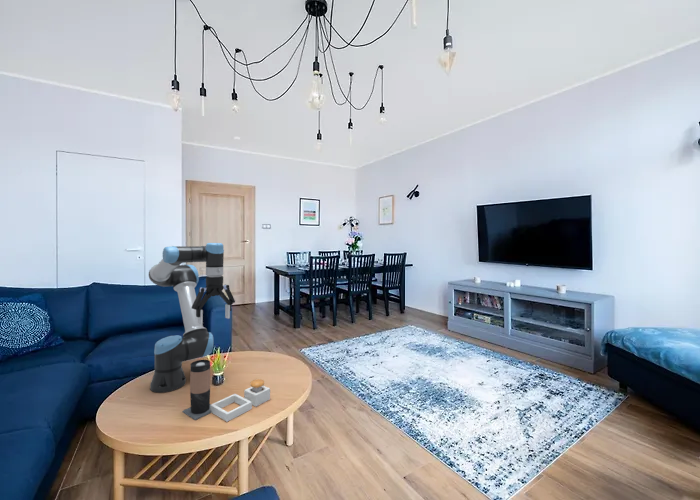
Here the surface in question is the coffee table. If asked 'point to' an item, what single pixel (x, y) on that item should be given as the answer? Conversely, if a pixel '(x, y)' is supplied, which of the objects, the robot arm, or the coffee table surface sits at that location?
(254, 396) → the housing
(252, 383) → the tan and grey knob
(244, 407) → the socket collar
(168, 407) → the coffee table surface
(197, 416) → the mat
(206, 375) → the travel mug
